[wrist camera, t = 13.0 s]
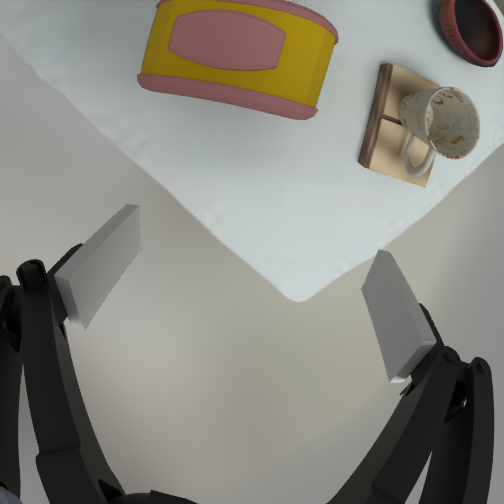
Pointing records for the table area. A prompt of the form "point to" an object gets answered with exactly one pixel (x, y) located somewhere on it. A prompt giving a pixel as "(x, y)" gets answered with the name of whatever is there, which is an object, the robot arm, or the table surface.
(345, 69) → the table surface
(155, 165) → the table surface
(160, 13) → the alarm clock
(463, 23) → the bowl
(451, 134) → the mug
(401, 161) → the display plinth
